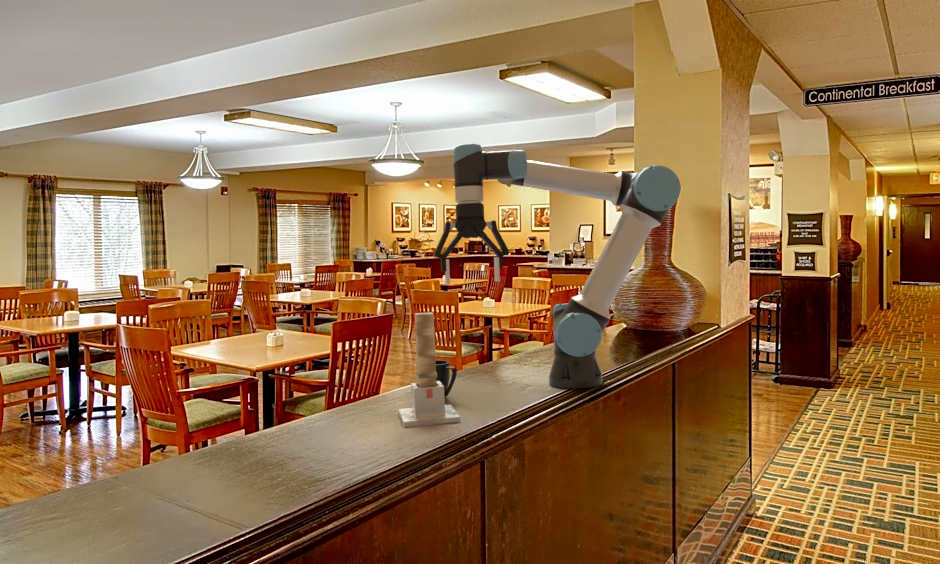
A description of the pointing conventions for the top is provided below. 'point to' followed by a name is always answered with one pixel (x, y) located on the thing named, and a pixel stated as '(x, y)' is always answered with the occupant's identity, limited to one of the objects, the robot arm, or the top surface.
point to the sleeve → (428, 407)
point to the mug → (445, 375)
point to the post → (425, 349)
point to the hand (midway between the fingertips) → (472, 282)
